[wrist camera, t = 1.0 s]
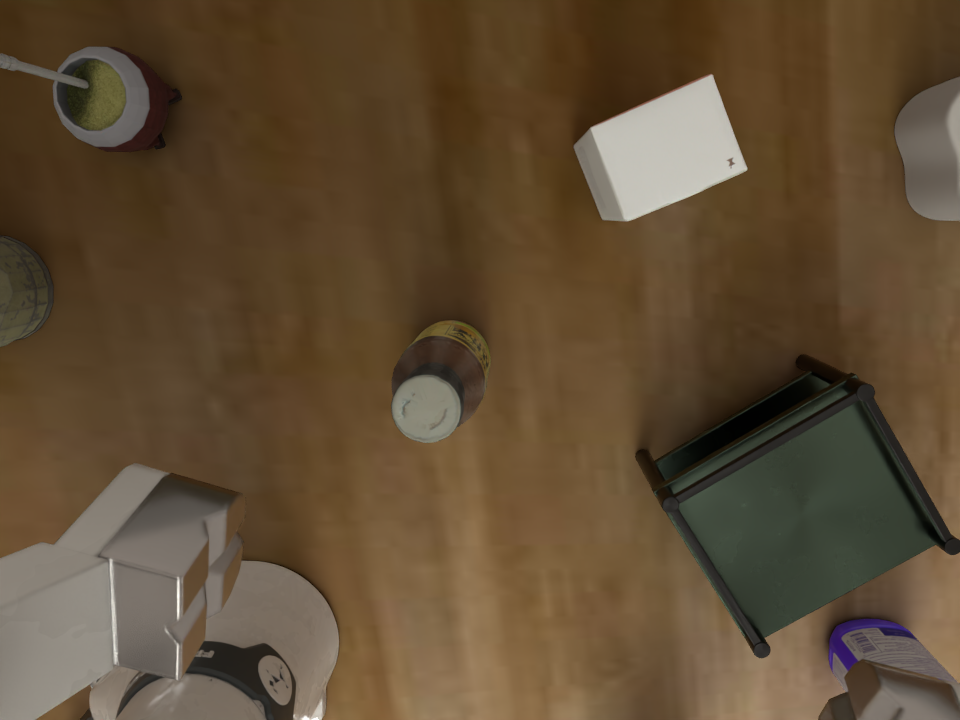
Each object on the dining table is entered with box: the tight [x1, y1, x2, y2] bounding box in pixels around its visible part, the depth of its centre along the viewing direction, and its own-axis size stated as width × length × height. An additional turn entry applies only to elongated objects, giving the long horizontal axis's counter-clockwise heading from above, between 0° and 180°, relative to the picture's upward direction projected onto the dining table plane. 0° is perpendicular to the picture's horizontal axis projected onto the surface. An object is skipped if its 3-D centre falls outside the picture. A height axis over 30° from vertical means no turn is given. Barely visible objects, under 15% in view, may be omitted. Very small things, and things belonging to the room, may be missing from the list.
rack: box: [635, 354, 960, 658], centre depth 59 cm, size 16×14×11 cm
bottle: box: [829, 619, 958, 692], centre depth 59 cm, size 7×6×17 cm
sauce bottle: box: [391, 320, 491, 443], centre depth 54 cm, size 6×6×20 cm
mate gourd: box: [0, 47, 182, 152], centre depth 53 cm, size 8×8×15 cm
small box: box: [573, 74, 747, 221], centre depth 54 cm, size 8×6×13 cm
